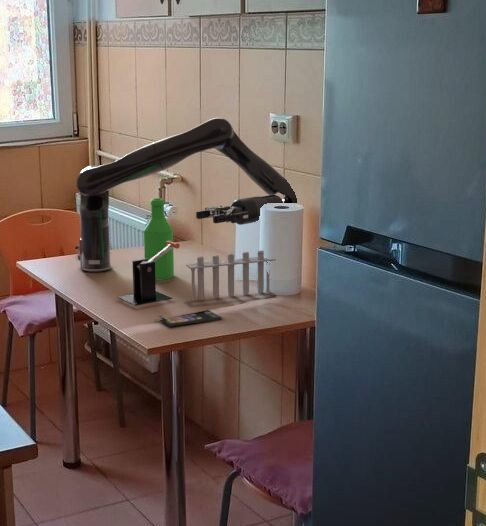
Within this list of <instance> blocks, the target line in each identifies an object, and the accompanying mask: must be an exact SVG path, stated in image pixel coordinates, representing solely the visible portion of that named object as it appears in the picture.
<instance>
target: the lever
mask: <svg viewBox="0 0 486 526" xmlns="http://www.w3.org/2000/svg"><path fill="white" fill-rule="evenodd" d="M166 245H167V246H166V247H165V248H164V249H163V250H161V251H160V252H159V253H158V254H156V255H155V256H154V257H153V258H151V259H150V260H149V261H148V262H151V261H154V262H155V261H157V260H158V259H159V258H160V257H162V256H163V255H164V254H165V253H167V252H168V251H169V250H170V249H172V248H173V249H179V248H180V246H181V245H180V243H177V242H174V241H173V242H172V241H167V242H166ZM145 262H146V261H143V262H141V263H145ZM137 268H138V270H139V272H140V264H139V265H137Z"/></svg>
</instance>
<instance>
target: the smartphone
mask: <svg viewBox="0 0 486 526" xmlns="http://www.w3.org/2000/svg"><path fill="white" fill-rule="evenodd" d="M157 317H158V318H160V319H159V321H160V322H162V323H163V324H165V325H166V326H168V327H176V326H184V325H190V324H198V323H206V322H212V321H220V320H222V316H220V315H218V314H216V313H214V312H212V311H210V310H208V309H206V310H201V311H196V312H191V313H186V314H181V315H177V316H173V317H169V318H167V317H166V316H164V315H157Z"/></svg>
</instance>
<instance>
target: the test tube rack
mask: <svg viewBox="0 0 486 526" xmlns="http://www.w3.org/2000/svg"><path fill="white" fill-rule="evenodd" d="M264 256H265V252H264V250H257V256H256V257H255V256H253V257H250V253H249V251H243V252H242V258H235V254H234V253H231V252H229V253H227V259H225V260H224V259H223V260H220V257H219V254H213V255H212V257H211V258H212V261H204V260H205V258H204V256H201V255H200V256H197V259H196V261H197V262H195V263H194V262H193V263H185V267H187V268H188V269H190V271H191V301H194V302H195V301H196V282H195V281H196V278H195V277H196V276H195V271H196V269H197V299H198V300H199V301H204V299H205V272H204V271H205V268H206V269H208V268H212V297H213V299H219V298H220V267H225V266H226V267H227V295H228V297H230V298H232V297H235V265H242V295H243V296H249V295H250V264H255V263H257V294H263V293H264V291H265V293H267V294H269V293H271V290H270V273H269V274H268V272H267V271H266V289H265V290H264V287H265V263H266V262H267V261H270V262H274V261H275V262H276V258H274V259H268V258H264ZM267 263H268V262H267ZM267 263H266V264H267ZM276 297H277V296H276V295H273V296H267V299H272V298H276ZM262 299H263V300H264V299H265V297H264V298H262Z"/></svg>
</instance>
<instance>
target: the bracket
mask: <svg viewBox="0 0 486 526" xmlns="http://www.w3.org/2000/svg"><path fill="white" fill-rule="evenodd" d="M143 261H146V262H145V263H141V262H143ZM131 263H132V289H133V293H131V294H127V295H122V296H117V299H119V300H122V301H123V302H126V303H128V304H130V305H133V306H134V307H136V306H137V307H138V306H141V305H147V304H151V303H157V302H162V301H167V300H171V299H173V297H171V296H169V295H166V294H164V293H162V292H159V291H157V287H156V286H157V280H156V279H155V262H154V261H151V262H148V259H146V258H145V257H144V258H141V259H133V260H132V262H131ZM139 264H140V272H139V270H138V268H137V265H139Z"/></svg>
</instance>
